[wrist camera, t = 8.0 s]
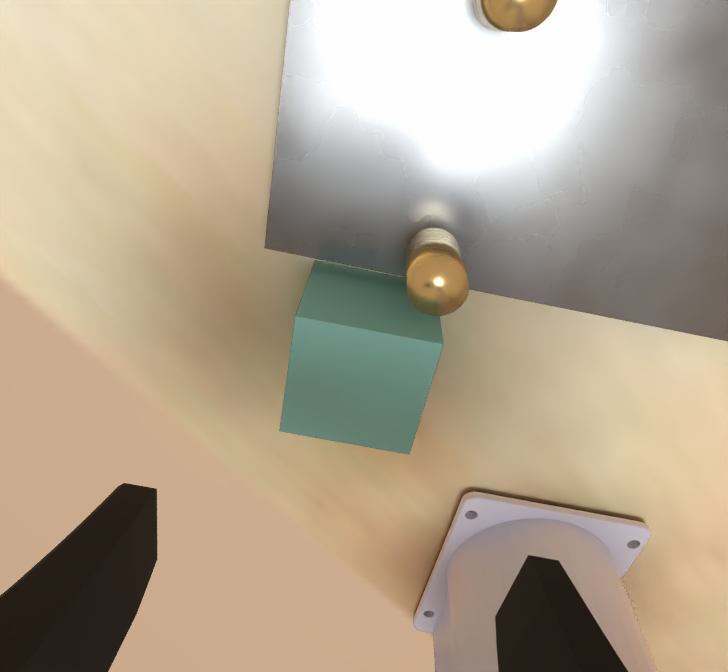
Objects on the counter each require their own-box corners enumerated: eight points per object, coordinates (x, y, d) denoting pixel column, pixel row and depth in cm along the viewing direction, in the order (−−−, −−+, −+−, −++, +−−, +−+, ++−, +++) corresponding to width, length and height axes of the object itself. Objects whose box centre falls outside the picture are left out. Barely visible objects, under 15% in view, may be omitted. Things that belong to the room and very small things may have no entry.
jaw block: (407, 379, 20) (409, 454, 16) (300, 359, 20) (279, 431, 16) (434, 282, 18) (443, 344, 14) (315, 259, 17) (295, 316, 14)
